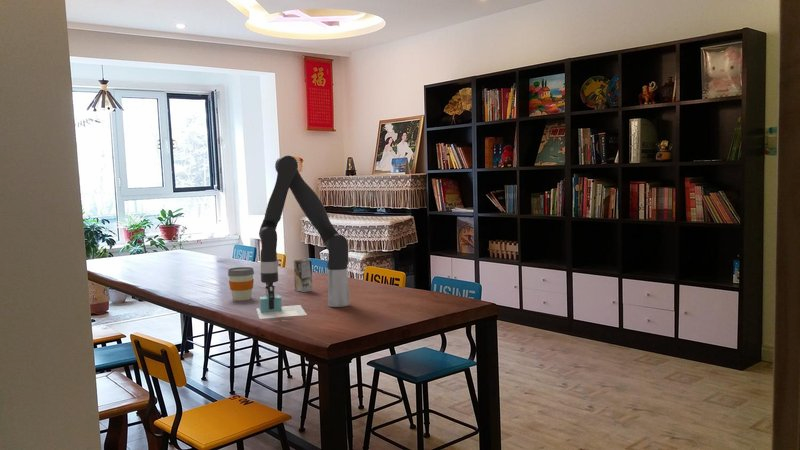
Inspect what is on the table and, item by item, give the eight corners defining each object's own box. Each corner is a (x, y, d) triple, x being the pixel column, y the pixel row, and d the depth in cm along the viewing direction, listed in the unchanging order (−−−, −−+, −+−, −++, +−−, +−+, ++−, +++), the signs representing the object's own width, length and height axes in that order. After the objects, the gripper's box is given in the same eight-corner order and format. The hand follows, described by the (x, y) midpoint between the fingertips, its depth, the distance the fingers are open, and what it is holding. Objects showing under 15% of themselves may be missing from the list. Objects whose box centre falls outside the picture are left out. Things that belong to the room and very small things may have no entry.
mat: (300, 306, 283) (300, 304, 283) (307, 316, 262) (307, 314, 262) (256, 309, 277) (256, 308, 277) (259, 320, 256) (259, 318, 256)
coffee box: (313, 290, 322) (312, 260, 320) (302, 292, 318) (301, 261, 317) (304, 288, 329) (303, 259, 328) (294, 290, 325) (293, 260, 324)
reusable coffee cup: (248, 301, 297) (246, 270, 296) (224, 300, 300) (223, 270, 299) (259, 296, 309) (258, 267, 308) (236, 296, 312) (235, 266, 311)
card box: (280, 308, 277) (279, 295, 276) (281, 311, 271) (281, 297, 270) (260, 310, 274) (259, 296, 274) (261, 312, 268) (260, 299, 268)
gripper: (279, 273, 265) (280, 309, 267) (276, 268, 279) (277, 303, 280) (261, 274, 263) (263, 311, 264) (259, 269, 277) (261, 304, 278)
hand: (270, 307), depth 272 cm, fingers open, 8 cm apart
